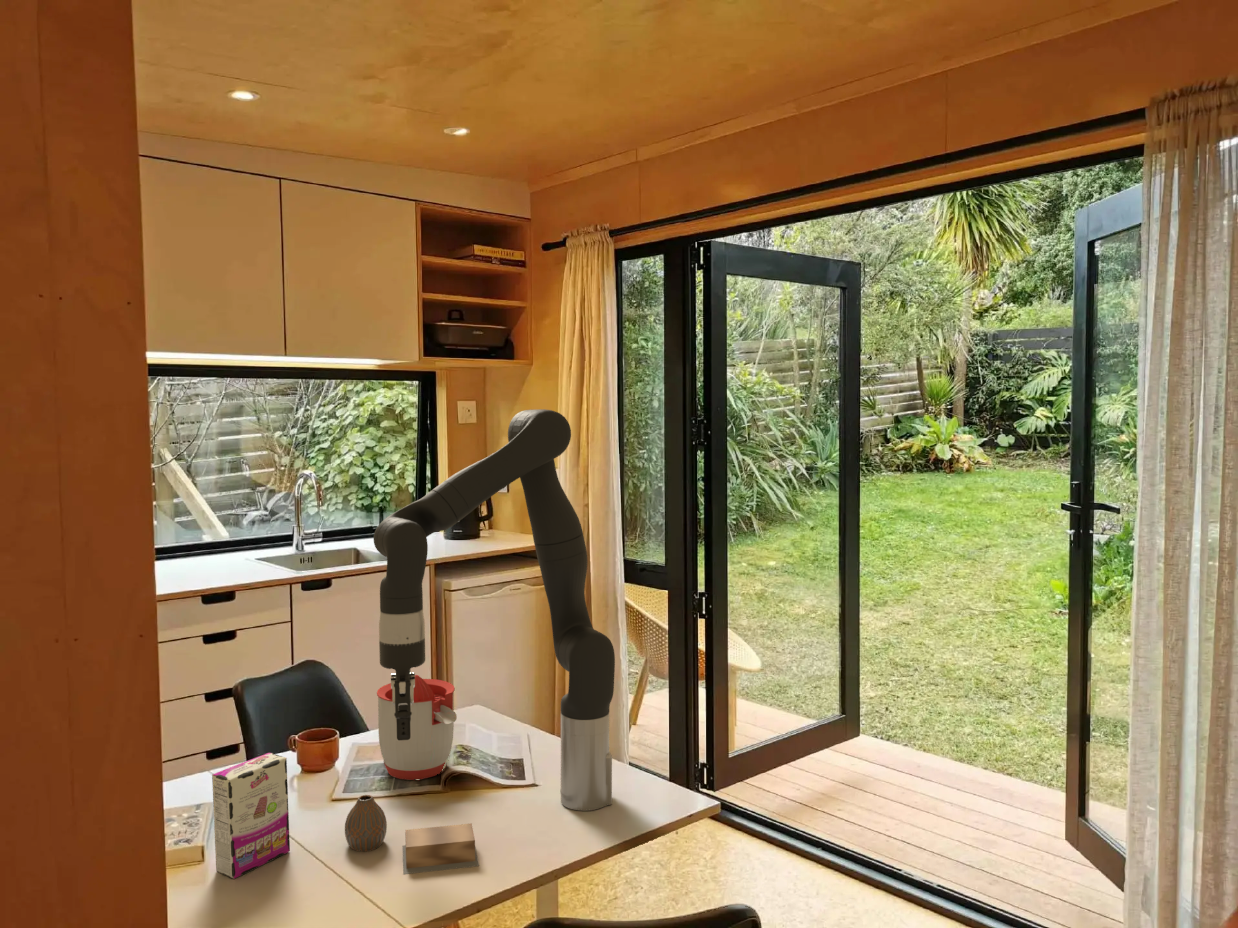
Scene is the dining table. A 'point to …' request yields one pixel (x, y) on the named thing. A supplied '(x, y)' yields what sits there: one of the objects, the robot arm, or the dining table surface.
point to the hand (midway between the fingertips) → (404, 730)
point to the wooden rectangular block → (439, 845)
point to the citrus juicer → (418, 730)
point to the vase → (365, 825)
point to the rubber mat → (437, 867)
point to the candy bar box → (250, 814)
